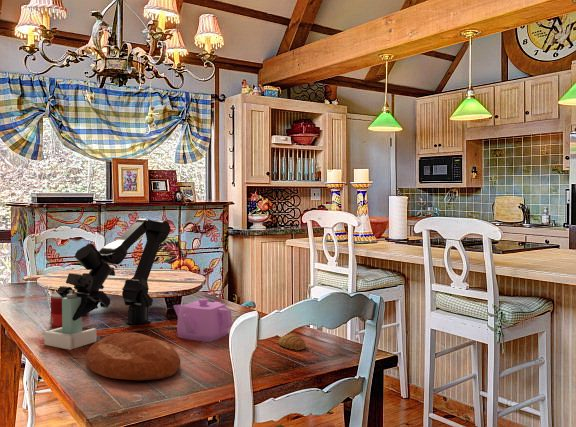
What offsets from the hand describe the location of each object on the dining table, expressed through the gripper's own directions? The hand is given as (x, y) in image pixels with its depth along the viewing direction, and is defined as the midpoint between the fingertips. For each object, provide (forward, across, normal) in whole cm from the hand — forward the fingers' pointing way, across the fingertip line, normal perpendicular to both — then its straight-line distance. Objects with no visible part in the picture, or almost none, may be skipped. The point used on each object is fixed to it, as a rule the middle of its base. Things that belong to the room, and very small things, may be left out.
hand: (68, 319), depth 165 cm
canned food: (-5, -20, +16) cm, 26 cm away
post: (+4, 0, +6) cm, 7 cm away
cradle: (+5, 0, +6) cm, 8 cm away
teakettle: (-14, +30, +25) cm, 42 cm away
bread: (+10, +33, +1) cm, 34 cm away
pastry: (-17, +62, +29) cm, 70 cm away
